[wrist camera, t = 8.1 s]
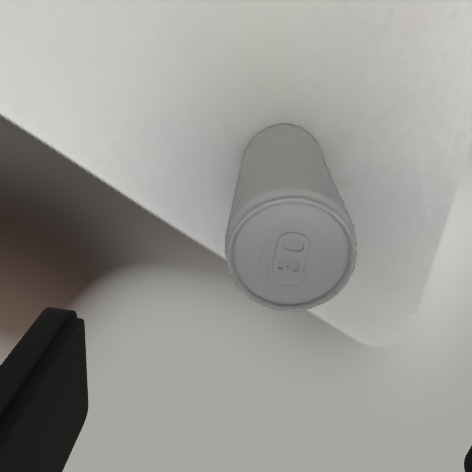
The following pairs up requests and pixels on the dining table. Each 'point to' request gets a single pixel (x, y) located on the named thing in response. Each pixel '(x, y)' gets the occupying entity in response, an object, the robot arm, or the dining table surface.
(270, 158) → the beverage can
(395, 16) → the dining table surface
